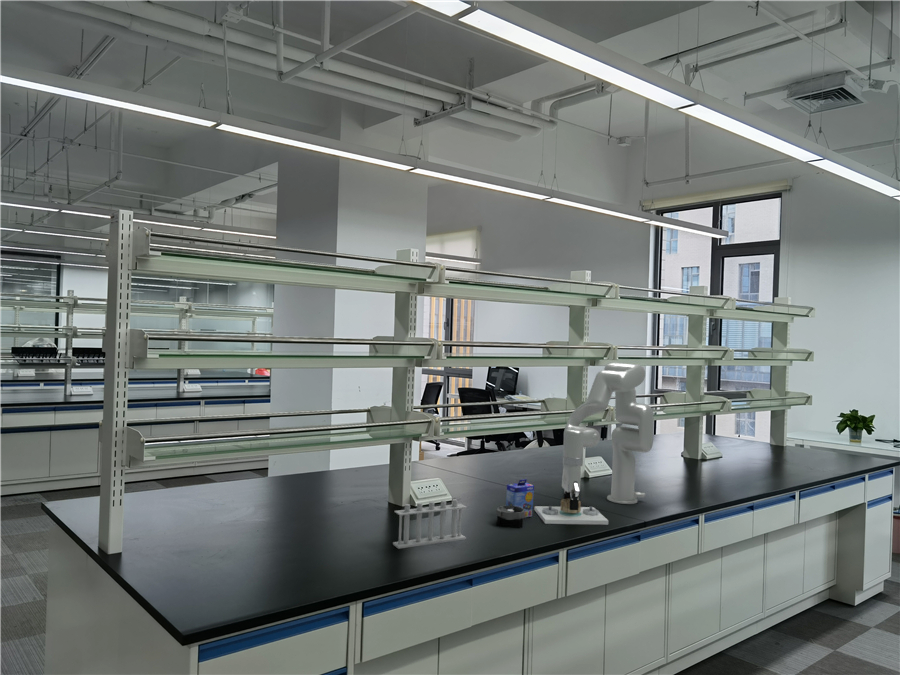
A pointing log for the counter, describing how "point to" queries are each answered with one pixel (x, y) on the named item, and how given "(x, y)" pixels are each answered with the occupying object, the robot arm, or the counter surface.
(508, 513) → the cpu cooler
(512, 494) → the ink cartridge box
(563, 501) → the maple gear
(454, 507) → the test tube rack
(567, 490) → the robot arm
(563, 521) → the gear board
